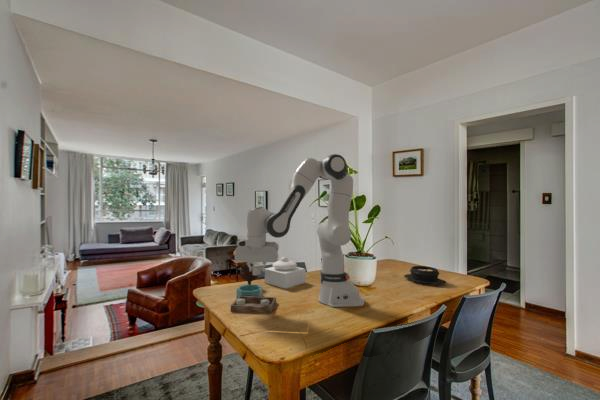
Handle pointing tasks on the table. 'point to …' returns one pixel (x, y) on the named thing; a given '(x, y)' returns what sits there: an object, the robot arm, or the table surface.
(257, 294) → the bowl
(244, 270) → the ice cream bowl
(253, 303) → the tray
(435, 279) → the black hat
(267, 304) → the pebble
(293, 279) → the butter dish
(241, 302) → the pebble
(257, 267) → the pebble
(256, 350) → the table surface
